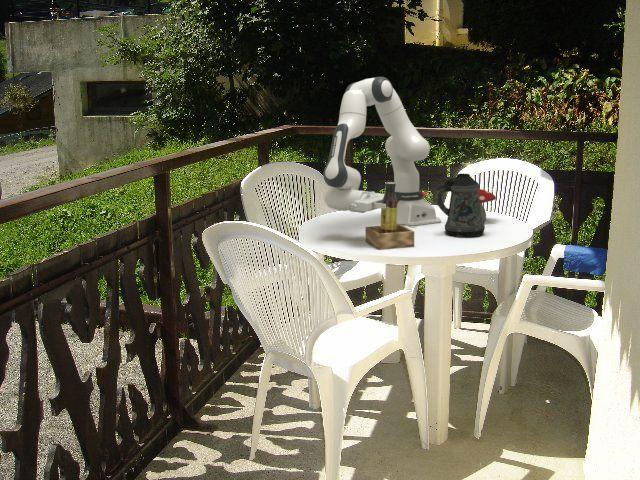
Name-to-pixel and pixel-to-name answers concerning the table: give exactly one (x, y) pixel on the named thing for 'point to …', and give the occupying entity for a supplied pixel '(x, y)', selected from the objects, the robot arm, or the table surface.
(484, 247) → the table surface
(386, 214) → the sauce bottle
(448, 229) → the beer stein
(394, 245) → the crate
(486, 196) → the decorative mushroom
